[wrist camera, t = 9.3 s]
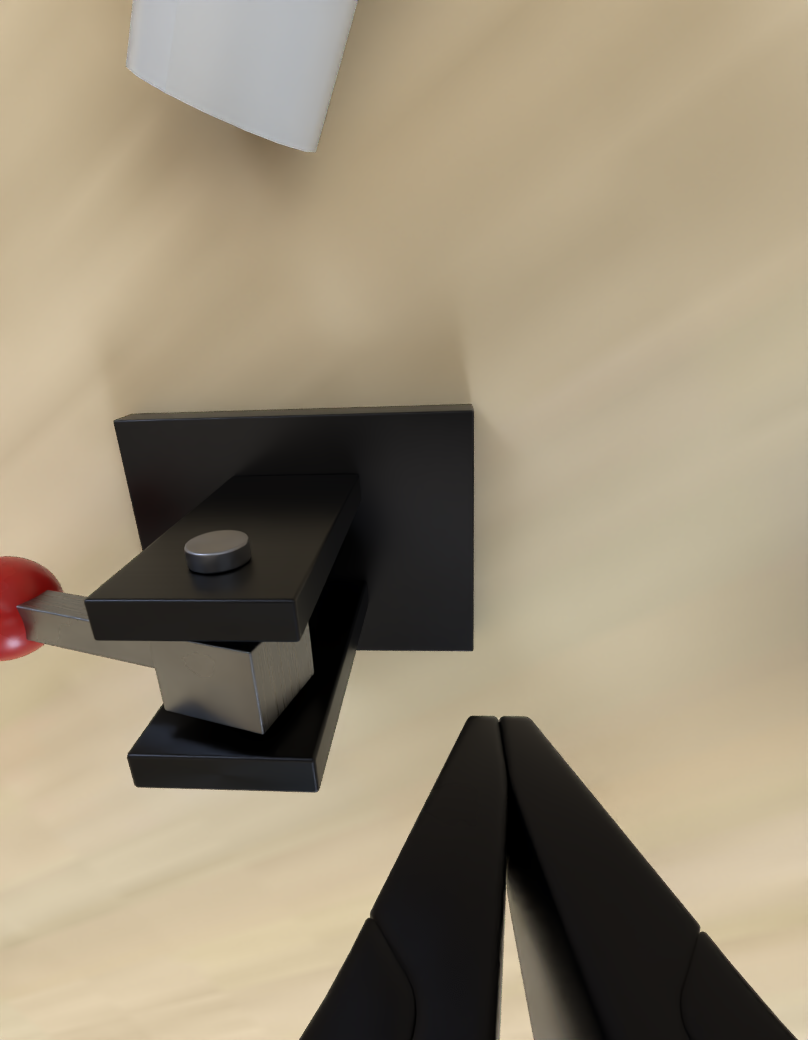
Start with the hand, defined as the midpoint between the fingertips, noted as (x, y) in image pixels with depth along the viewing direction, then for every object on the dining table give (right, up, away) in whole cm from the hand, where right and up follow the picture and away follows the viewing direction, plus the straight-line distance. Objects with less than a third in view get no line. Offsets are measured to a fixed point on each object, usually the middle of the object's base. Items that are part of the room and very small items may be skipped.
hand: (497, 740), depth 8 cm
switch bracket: (-5, +3, +13) cm, 14 cm away
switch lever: (-9, +1, +9) cm, 12 cm away
